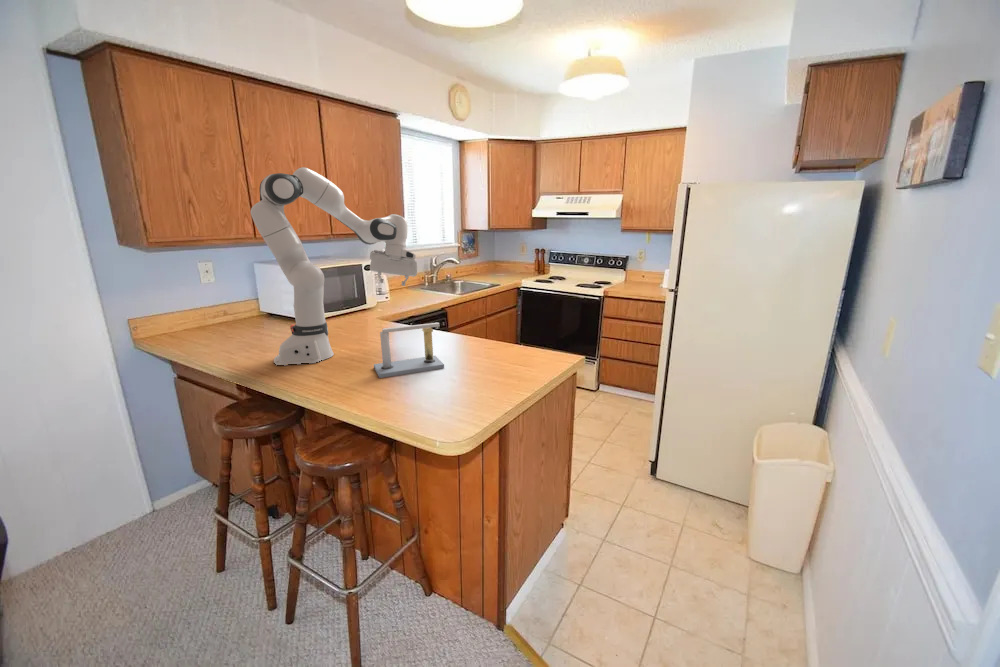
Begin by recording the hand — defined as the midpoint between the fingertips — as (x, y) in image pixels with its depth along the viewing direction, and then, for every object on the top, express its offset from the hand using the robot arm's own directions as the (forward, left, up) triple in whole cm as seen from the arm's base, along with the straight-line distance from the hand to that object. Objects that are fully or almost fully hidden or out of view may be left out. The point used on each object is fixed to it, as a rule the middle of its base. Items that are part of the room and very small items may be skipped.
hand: (392, 284), depth 188 cm
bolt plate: (-3, -36, -27) cm, 45 cm away
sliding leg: (+5, -36, -25) cm, 44 cm away
